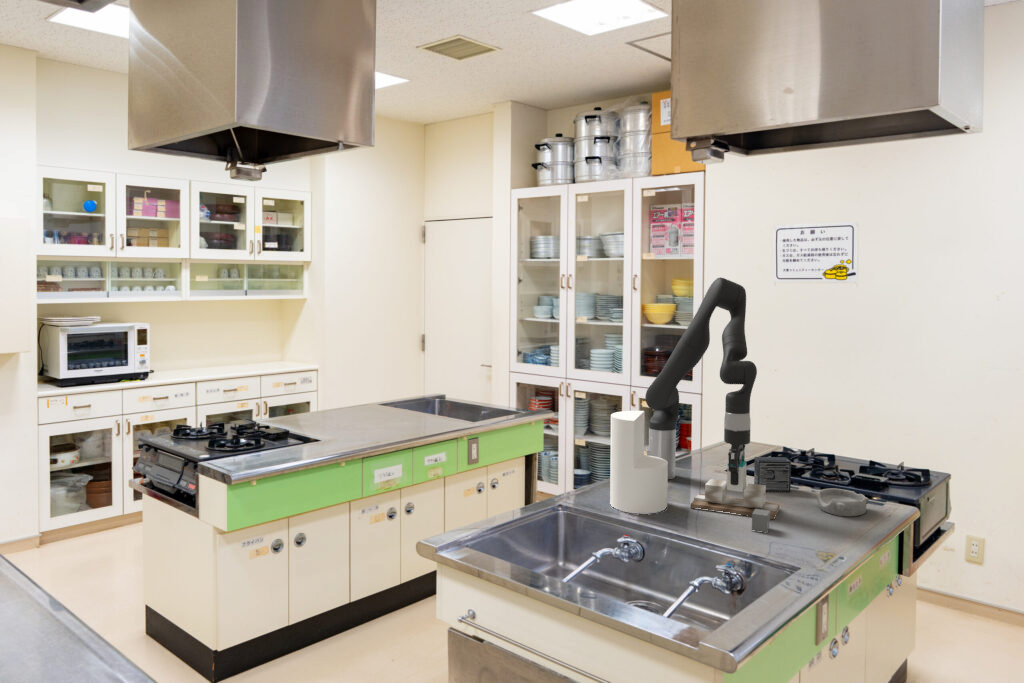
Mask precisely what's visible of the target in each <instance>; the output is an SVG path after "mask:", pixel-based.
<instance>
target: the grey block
mask: <svg viewBox="0 0 1024 683" xmlns="http://www.w3.org/2000/svg"><path fill="white" fill-rule="evenodd" d="M770 521H771V520H770V511H768V510H761V509H755V510H754V512H753V513H752V517H751V531H752V530H755V531H762V532H767V531H768V532H769V530H770V528H771V524H770V523H771V522H770ZM769 527H770V528H769ZM768 529H769V530H768ZM768 532H767V533H768Z"/></svg>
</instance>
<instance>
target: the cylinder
mask: <svg viewBox="0 0 1024 683" xmlns="http://www.w3.org/2000/svg"><path fill="white" fill-rule="evenodd" d="M609 460H610V462H609V463H610V464H609V465H610V467H609V468H610V469H609V470H610V474H609V476H610V478H609V479H610V481H609V482H610V484H609V486H610V487H609V488H610V489H609V490H610V491H609V494H610V495H609V498H610V499H609V505H610V504H611V506H612V507H614V508H616V509H619V510H622V511H626V512H634V513H635V512H638V513H649V512H657V511H661V510H664V509H665V508H666V507H667V508H668V479H667V477H668V462H667V461H666V460H664V459H662V458H659V457H654V456H647V454H645V410H623V411H622V410H621V411H616V412H613V413H611V414H610V459H609ZM611 506H610V507H611ZM612 507H611V508H612Z"/></svg>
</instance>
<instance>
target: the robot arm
mask: <svg viewBox="0 0 1024 683" xmlns="http://www.w3.org/2000/svg"><path fill="white" fill-rule="evenodd" d="M716 308H720V309H723V310H725V311H728V313H729V314H730V321H729V322H728V323H727V324H726V326H725V327H724V328H723V331H722V333H721V334H722V335H721V343H722V352H723V357H722V362H721V365H720V369H719V378H720V380H721V382H723V384H725V385H742V387H741V388H740V389H739V390H736V391H731V392H728V393H726V395H725V413H724V422H723V423H724V424H723V426H724V427H723V428H724V430H723V431H724V433H723V441H724V443H726V444H730V445H731V446H730V448H729V450H728V453H727V455H728V463H729V469H728V470H729V472H731V482H730V483H731V485H738V480H739V465H741V462H742V461H745V460H746V459H745V456H746V455H745V453H746V445H749V444H750V443H751V424H752V423H751V414H750V412H751V396H752V391H753V388H754V386H755V385H754V383H755V381H756V378H757V374H758V369H757V366H756V364H755V363H754V362H753V361H750V360H744V359H746V357H747V355H748V347H747V340H746V339H747V338H746V330H745V326H746V314H747V313H746V312H747V291H746V289H745V287H744V286H743V285H741V284H738V283H737V282H734V281H732V280H730V279H727V278H724V277H718V278H715V279H714V280H713V282H712V283H711V284H710V285H709V287H708V289H707V291H706V292H705V294H704V297H703V299H702V301H701V303H700V305H699V307H698V309H697V311H696V313H695V314H694V316H693V318H692V320H691V321H690V323H689V325H688V327H687V328H686V330H685V331H684V332H683V334H682V335H681V337H680V339H679V340H678V342H677V343H676V346H675V347H674V349H673V350H672V352H671V354H670V356H669V358H668V359H667V361H666V363H665V364H664V366H663V368H662V370H661V371H660V372H659V374H658V375H657V376H656V378H655V379H654V380H653V382H652V383H650V385H649V386H648V388H647V390H646V392H645V403H646V405H647V406H648V408H650V409H651V410H654V411H653V414H652V416H651V417H650V419H649V420H648V449H647V450H646V455H647V456H654V457H659V458H662V459H664V460H666V461H667V462H668V477H667V480H673V479H675V478H676V452H677V451H676V449H677V447H676V444H677V443H676V442H677V439H676V438H677V435H676V434H677V428H676V427H677V422H678V420H679V414H680V413H679V412H680V410H679V408H680V393H679V390H678V388H677V387H678V385H679V383H680V382H681V381H682V380H683V378H685V377H686V376H687V375H688V374H689V373H690V372H691V371H692V370H693V369H694V368H695V366H697V365H698V364H699V363H700V361H701V359H702V358H703V356H704V355H705V354H706V351H707V350H708V349H709V346H710V340H711V338H710V337H711V336H710V334H711V333H710V322H711V319H712V318H711V317H712V315H713V313H714V311H715V309H716ZM732 465H735V468H732Z"/></svg>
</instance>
